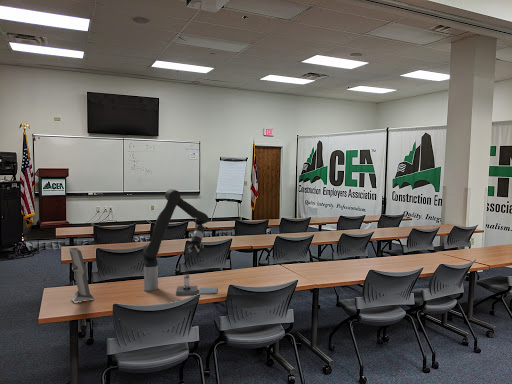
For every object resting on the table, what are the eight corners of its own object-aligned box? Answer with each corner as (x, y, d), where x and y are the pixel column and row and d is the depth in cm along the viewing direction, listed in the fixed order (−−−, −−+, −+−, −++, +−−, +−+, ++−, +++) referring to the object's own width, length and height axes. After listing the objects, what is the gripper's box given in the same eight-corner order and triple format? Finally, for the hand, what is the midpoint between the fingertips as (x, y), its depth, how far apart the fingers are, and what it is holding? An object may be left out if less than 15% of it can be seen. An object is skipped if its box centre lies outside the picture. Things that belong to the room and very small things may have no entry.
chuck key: (184, 293, 265) (183, 276, 264) (184, 291, 269) (184, 274, 268) (189, 292, 266) (189, 276, 265) (189, 291, 269) (189, 274, 268)
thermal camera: (70, 299, 253) (68, 247, 251) (90, 295, 260) (89, 245, 258) (73, 304, 243) (71, 250, 241) (94, 300, 251) (92, 248, 249)
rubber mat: (199, 294, 262) (199, 293, 262) (200, 289, 274) (200, 287, 274) (216, 293, 264) (216, 292, 264) (216, 288, 276) (216, 287, 276)
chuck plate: (176, 295, 260) (176, 291, 260) (177, 289, 272) (177, 286, 272) (196, 294, 262) (196, 291, 262) (197, 289, 274) (197, 285, 274)
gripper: (186, 235, 284) (180, 255, 275) (203, 235, 280) (198, 255, 270) (190, 240, 290) (185, 259, 281) (207, 240, 285) (202, 260, 276)
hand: (191, 257), depth 276 cm, fingers open, 8 cm apart
